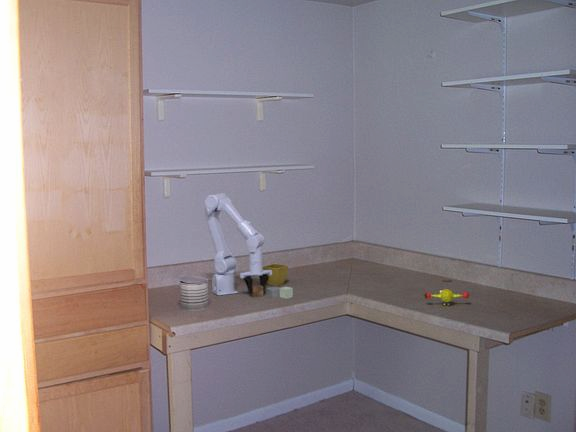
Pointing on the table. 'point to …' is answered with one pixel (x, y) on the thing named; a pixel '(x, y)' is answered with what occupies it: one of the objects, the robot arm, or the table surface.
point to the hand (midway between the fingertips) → (256, 292)
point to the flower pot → (276, 274)
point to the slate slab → (273, 291)
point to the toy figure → (446, 295)
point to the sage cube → (286, 292)
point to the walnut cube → (256, 291)
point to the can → (193, 293)
